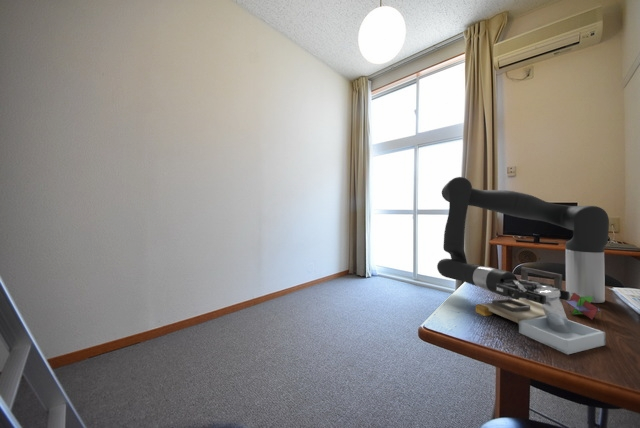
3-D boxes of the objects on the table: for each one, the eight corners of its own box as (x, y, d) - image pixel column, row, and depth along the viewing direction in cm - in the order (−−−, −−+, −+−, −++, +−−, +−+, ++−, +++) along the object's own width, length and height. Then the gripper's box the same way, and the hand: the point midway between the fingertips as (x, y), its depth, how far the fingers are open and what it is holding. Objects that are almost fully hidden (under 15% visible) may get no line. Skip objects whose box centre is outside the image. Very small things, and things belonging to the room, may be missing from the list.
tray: (553, 325, 65) (553, 314, 65) (605, 344, 55) (605, 332, 55) (518, 332, 62) (518, 321, 62) (567, 354, 52) (567, 341, 52)
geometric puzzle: (616, 316, 65) (595, 288, 70) (593, 317, 65) (573, 288, 70) (591, 322, 71) (573, 295, 76) (570, 323, 71) (553, 296, 75)
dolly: (521, 304, 79) (520, 266, 79) (564, 319, 68) (563, 274, 68) (475, 312, 74) (475, 270, 74) (514, 329, 63) (513, 281, 63)
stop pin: (555, 321, 64) (542, 286, 65) (578, 327, 59) (564, 289, 60) (542, 328, 63) (529, 292, 64) (565, 335, 58) (551, 295, 59)
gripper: (476, 270, 73) (536, 286, 57) (510, 266, 76) (576, 280, 61) (476, 294, 73) (537, 316, 57) (510, 289, 76) (576, 309, 61)
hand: (557, 298), depth 59 cm, fingers open, 8 cm apart
